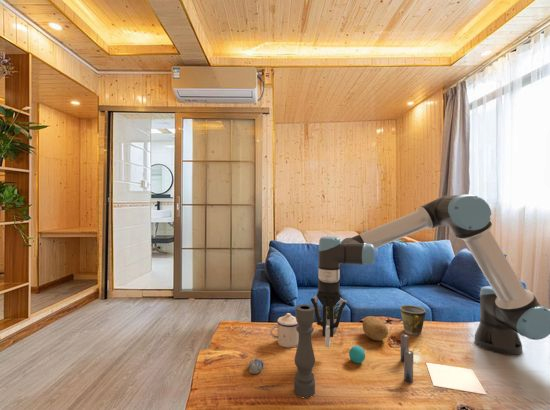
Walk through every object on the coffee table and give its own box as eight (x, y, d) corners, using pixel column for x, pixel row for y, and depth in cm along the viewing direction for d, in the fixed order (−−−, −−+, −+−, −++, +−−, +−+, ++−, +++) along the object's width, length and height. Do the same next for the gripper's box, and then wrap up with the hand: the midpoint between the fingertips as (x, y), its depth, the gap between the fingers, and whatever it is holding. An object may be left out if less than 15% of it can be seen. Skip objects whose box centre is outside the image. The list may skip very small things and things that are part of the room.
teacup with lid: (295, 336, 127) (296, 308, 127) (302, 346, 118) (303, 317, 118) (267, 339, 124) (267, 311, 124) (272, 350, 116) (272, 319, 115)
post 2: (412, 379, 97) (412, 350, 97) (413, 383, 95) (413, 354, 95) (403, 377, 98) (403, 349, 98) (404, 382, 95) (404, 353, 95)
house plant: (340, 342, 122) (340, 301, 122) (308, 334, 129) (309, 296, 129) (351, 330, 134) (351, 292, 134) (322, 323, 141) (322, 288, 141)
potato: (378, 330, 134) (379, 312, 134) (393, 345, 120) (394, 325, 120) (357, 331, 133) (357, 313, 133) (369, 346, 119) (369, 326, 119)
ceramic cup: (397, 326, 138) (397, 304, 138) (420, 327, 137) (421, 305, 137) (405, 339, 125) (405, 315, 125) (431, 341, 124) (431, 316, 124)
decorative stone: (249, 359, 106) (262, 354, 106) (253, 372, 105) (266, 367, 104) (243, 365, 100) (257, 359, 99) (247, 378, 99) (261, 373, 98)
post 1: (408, 359, 109) (408, 334, 109) (408, 363, 107) (409, 337, 107) (400, 358, 110) (400, 333, 110) (400, 362, 107) (401, 336, 107)
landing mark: (471, 369, 103) (471, 369, 103) (486, 395, 89) (486, 394, 89) (425, 363, 107) (425, 362, 107) (433, 386, 93) (433, 385, 93)
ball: (365, 359, 109) (365, 344, 109) (365, 367, 104) (365, 351, 104) (349, 357, 111) (349, 342, 111) (348, 364, 105) (348, 349, 105)
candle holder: (292, 385, 93) (293, 304, 93) (312, 384, 94) (313, 303, 93) (295, 398, 87) (296, 311, 87) (317, 397, 88) (317, 311, 87)
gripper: (308, 280, 108) (307, 347, 109) (346, 284, 104) (345, 353, 105) (312, 276, 115) (311, 338, 116) (348, 279, 111) (347, 343, 112)
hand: (327, 345), depth 110 cm, fingers closed
